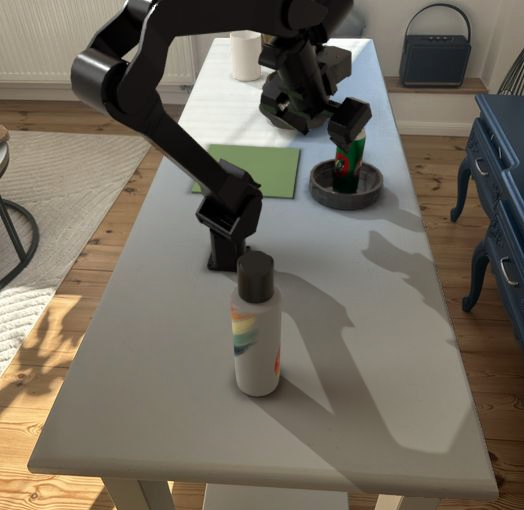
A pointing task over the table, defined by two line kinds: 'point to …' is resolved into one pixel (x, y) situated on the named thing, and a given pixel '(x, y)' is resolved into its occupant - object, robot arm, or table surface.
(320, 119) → the casserole
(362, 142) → the soda can
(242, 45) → the mug
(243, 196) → the robot arm
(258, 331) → the lotion bottle
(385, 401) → the table surface
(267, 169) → the napkin
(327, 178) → the pan
